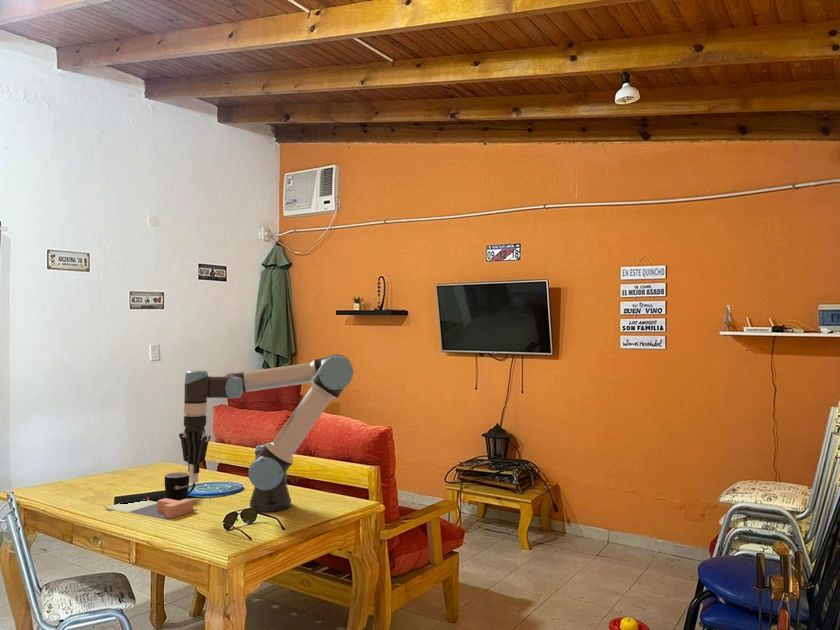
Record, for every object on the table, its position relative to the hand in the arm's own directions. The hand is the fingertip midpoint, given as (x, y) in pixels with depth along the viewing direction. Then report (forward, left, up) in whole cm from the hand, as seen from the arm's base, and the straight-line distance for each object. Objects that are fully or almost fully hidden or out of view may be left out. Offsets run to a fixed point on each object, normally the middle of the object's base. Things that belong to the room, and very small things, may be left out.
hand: (193, 482), depth 225 cm
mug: (+23, -15, -13) cm, 30 cm away
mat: (+21, 0, -13) cm, 24 cm away
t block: (+11, 0, -12) cm, 16 cm away
